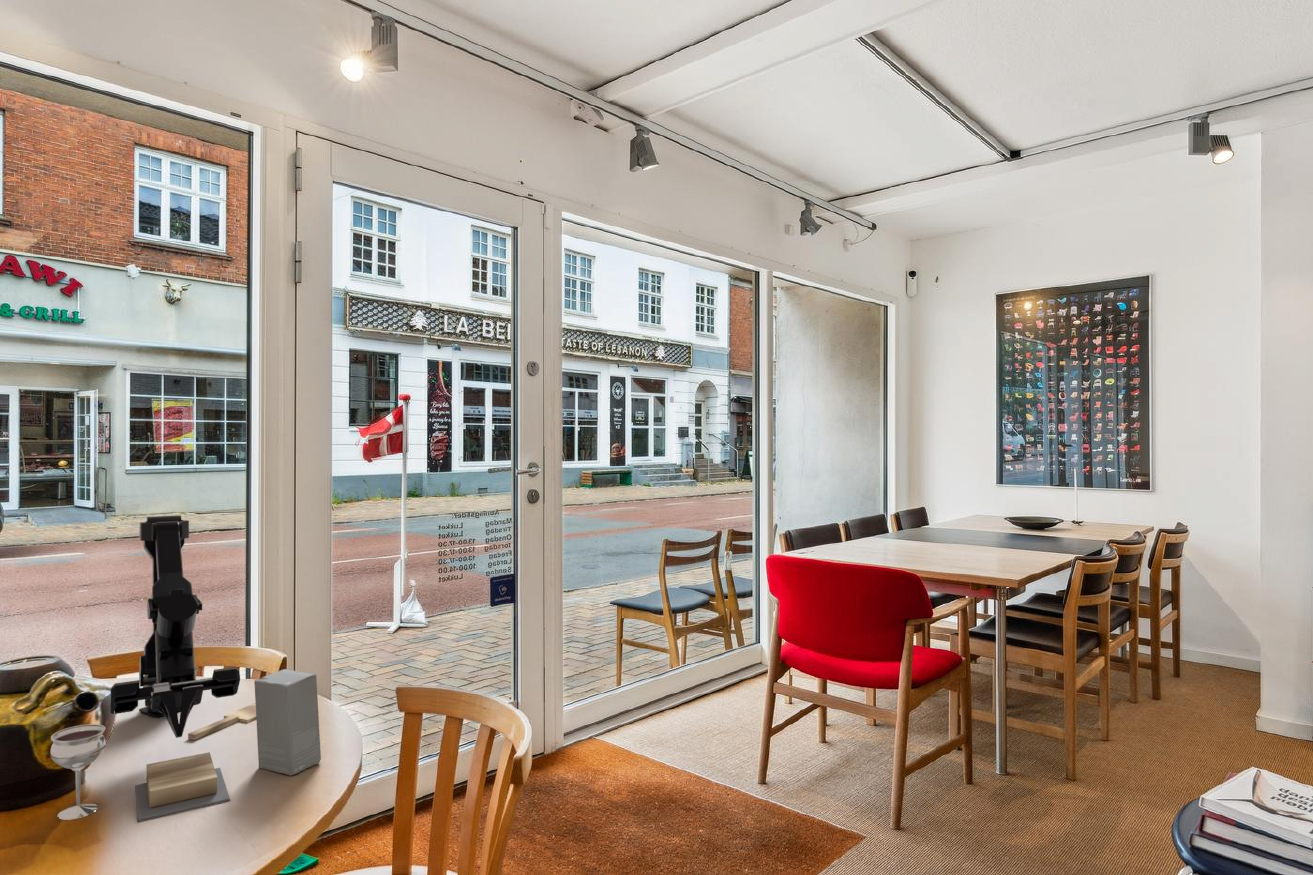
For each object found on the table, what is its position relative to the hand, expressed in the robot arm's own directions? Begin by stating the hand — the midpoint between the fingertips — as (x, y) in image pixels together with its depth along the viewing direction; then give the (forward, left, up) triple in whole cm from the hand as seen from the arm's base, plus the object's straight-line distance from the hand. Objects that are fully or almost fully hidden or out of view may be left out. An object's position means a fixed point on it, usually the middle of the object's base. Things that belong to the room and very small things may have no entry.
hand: (179, 736), depth 130 cm
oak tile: (-1, +1, -5) cm, 5 cm away
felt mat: (+5, -3, -7) cm, 9 cm away
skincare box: (+11, +12, -7) cm, 18 cm away
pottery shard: (-46, +27, -8) cm, 54 cm away
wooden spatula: (-15, +20, -7) cm, 26 cm away
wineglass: (-2, -14, -7) cm, 16 cm away
